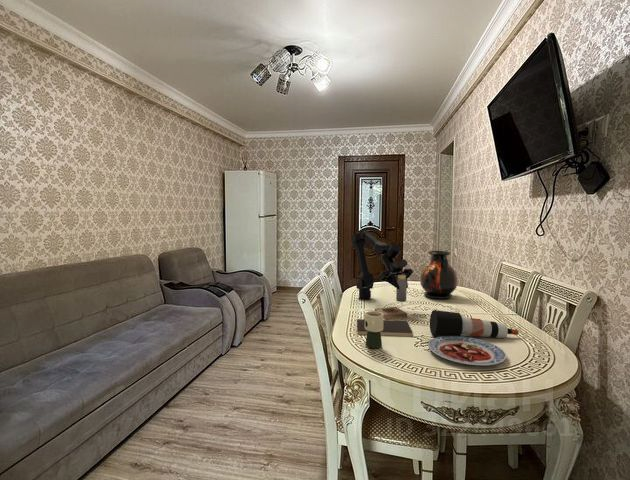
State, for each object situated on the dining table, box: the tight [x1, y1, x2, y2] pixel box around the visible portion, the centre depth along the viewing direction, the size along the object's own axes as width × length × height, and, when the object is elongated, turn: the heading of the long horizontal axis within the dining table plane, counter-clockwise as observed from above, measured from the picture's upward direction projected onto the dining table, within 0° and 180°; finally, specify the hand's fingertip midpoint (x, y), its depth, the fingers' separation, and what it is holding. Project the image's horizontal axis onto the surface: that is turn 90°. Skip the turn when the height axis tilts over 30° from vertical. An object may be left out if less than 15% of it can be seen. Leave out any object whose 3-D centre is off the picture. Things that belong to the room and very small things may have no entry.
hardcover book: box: [356, 318, 414, 337], centre depth 148 cm, size 16×23×2 cm
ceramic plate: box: [428, 335, 507, 366], centre depth 122 cm, size 26×26×3 cm
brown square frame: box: [374, 306, 408, 320], centre depth 169 cm, size 12×12×2 cm
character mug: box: [364, 310, 384, 349], centre depth 128 cm, size 11×7×13 cm, turn 168°
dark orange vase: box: [419, 250, 459, 301], centre depth 203 cm, size 22×22×28 cm
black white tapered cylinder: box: [429, 309, 519, 339], centre depth 138 cm, size 10×34×10 cm, turn 83°
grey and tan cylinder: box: [395, 275, 408, 303], centre depth 170 cm, size 5×5×13 cm
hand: (403, 288), depth 168 cm, fingers closed on grey and tan cylinder, 5 cm apart
